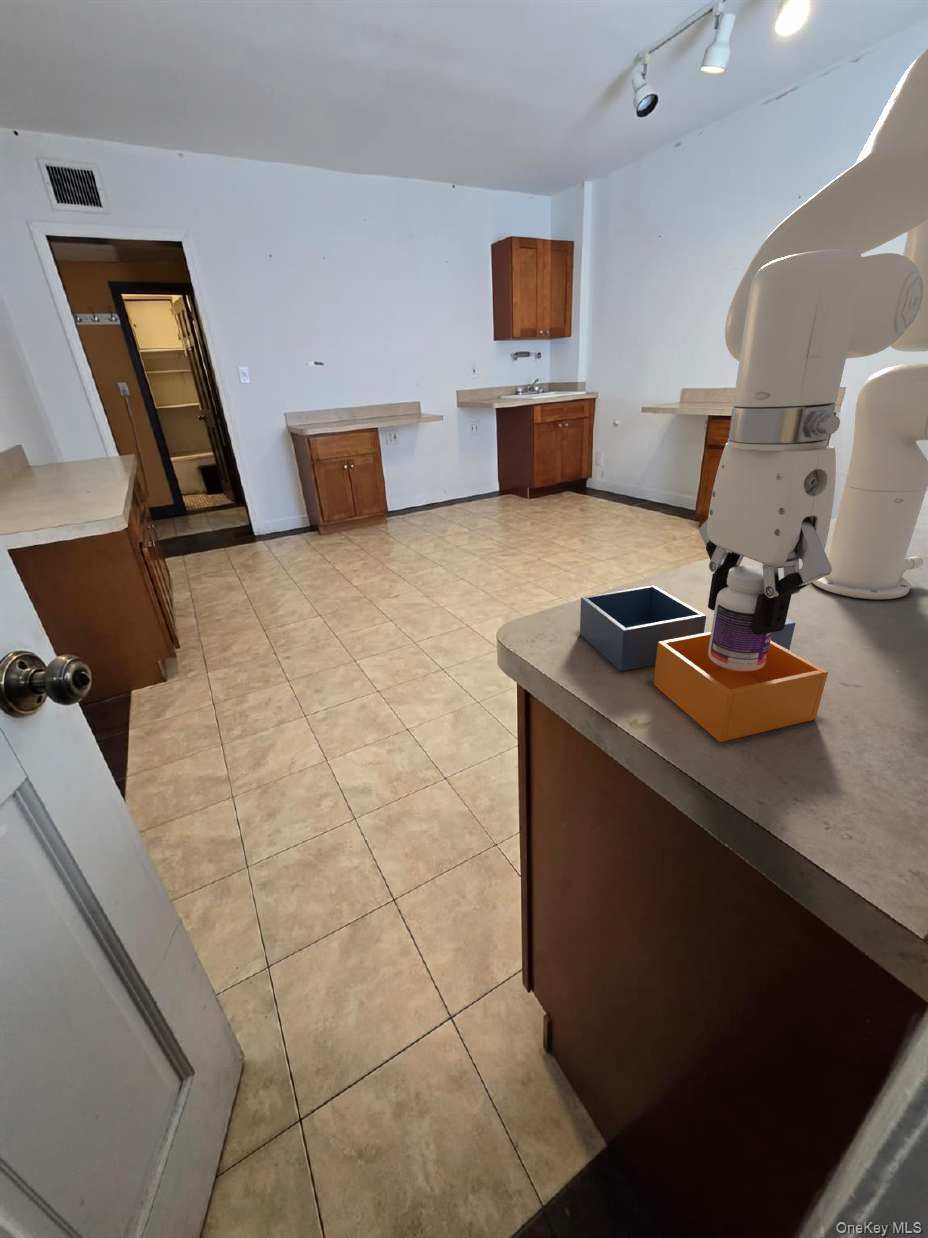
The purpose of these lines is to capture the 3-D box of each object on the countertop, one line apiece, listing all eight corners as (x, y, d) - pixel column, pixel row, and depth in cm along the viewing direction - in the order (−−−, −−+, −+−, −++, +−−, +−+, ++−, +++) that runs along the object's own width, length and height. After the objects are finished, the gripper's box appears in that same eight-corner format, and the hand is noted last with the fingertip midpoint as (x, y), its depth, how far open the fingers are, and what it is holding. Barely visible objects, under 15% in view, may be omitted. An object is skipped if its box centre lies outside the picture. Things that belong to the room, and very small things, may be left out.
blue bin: (650, 620, 75) (653, 585, 72) (700, 655, 65) (706, 615, 62) (579, 633, 72) (580, 597, 70) (620, 671, 62) (623, 630, 60)
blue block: (760, 640, 67) (766, 608, 65) (788, 655, 63) (795, 622, 61) (731, 645, 66) (736, 614, 65) (757, 662, 62) (764, 628, 61)
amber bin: (736, 667, 62) (743, 625, 59) (815, 719, 52) (828, 671, 49) (653, 684, 59) (657, 641, 57) (719, 742, 49) (728, 693, 47)
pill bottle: (772, 674, 50) (793, 582, 46) (714, 672, 52) (728, 581, 48) (756, 648, 55) (773, 563, 51) (702, 646, 56) (715, 562, 52)
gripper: (915, 430, 37) (852, 650, 45) (742, 420, 52) (717, 585, 60) (830, 439, 36) (779, 665, 43) (677, 426, 51) (660, 595, 58)
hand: (743, 617), depth 51 cm, fingers closed on pill bottle, 5 cm apart
